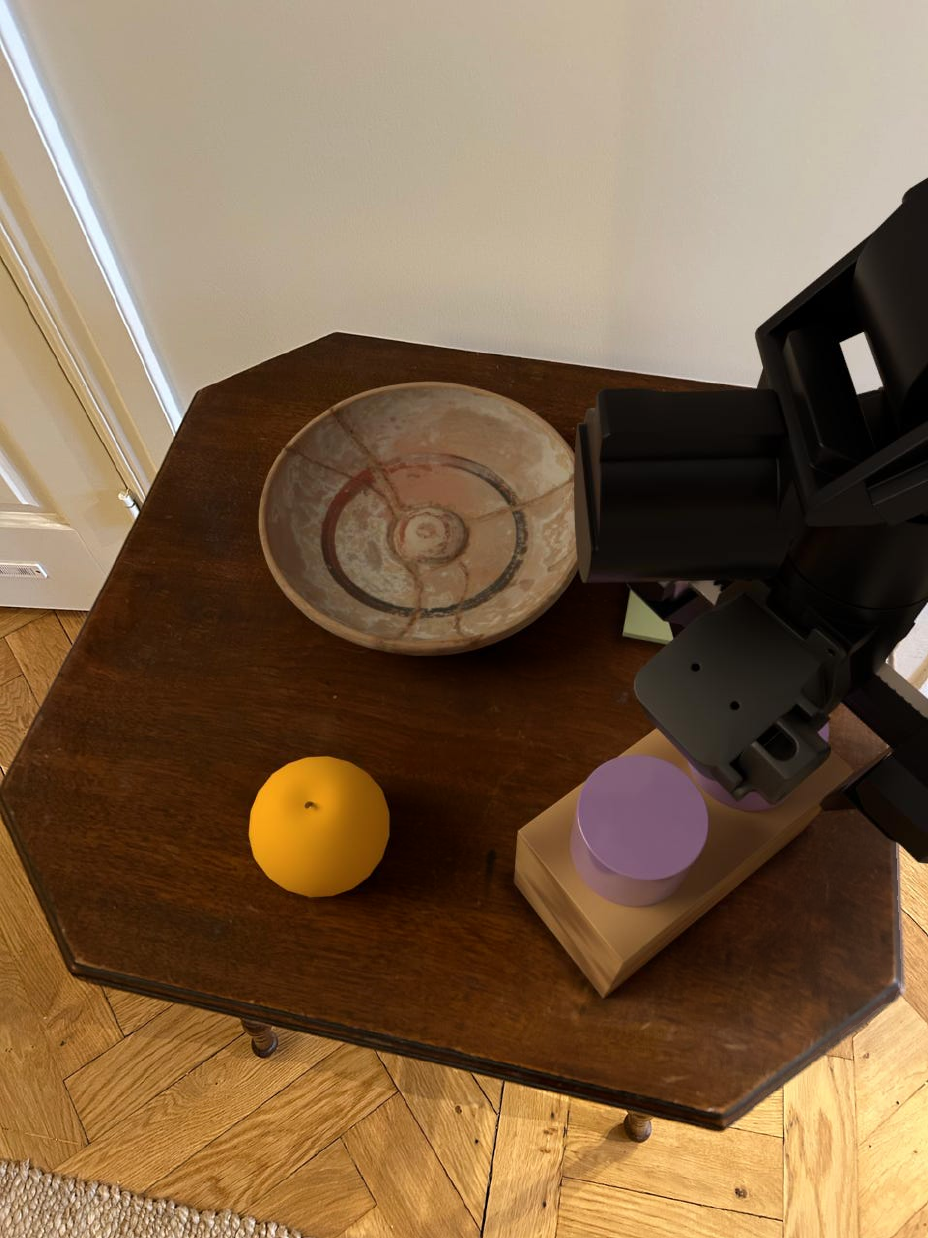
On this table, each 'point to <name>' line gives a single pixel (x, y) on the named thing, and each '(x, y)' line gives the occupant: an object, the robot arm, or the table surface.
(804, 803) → the block
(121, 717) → the table surface
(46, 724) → the table surface
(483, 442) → the ceramic bowl
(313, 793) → the orange
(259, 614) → the table surface
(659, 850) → the lavender cylinder puck
